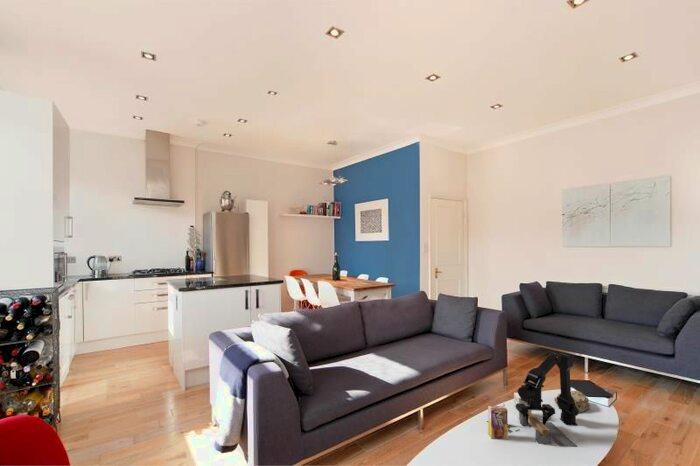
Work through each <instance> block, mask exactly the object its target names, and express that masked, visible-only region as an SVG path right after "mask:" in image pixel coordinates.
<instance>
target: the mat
mask: <svg viewBox="0 0 700 466" xmlns="http://www.w3.org/2000/svg"><path fill="white" fill-rule="evenodd" d="M541 422H542V423H543V421H541ZM545 426H546V427H547V428H548V429H549V431H550V432H551V433H552V441H554V442H555V443H556V444H557V445H558V446H559V447H567V448H568V447H571V448H572V447H575V448H577V447H578V445H577V444H576V443H575V442H573V440H572V439H570V438H569V437H568V436H567V435H566V434H565V433H564V432H563V431H562V430H560V428H558V427H557V425H555V424H554V423H553V422H551V421H547V422H546V424H545Z"/></svg>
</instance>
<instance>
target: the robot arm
mask: <svg viewBox="0 0 700 466" xmlns="http://www.w3.org/2000/svg"><path fill="white" fill-rule="evenodd" d="M554 366H557V367H558V369H559V382H560V383H559V385H560V393H561V394H560V393H559V394H560V395H559V397H557V396H556V397H557V403H558V404H557V406H558V409H559V410H561V412H560V418H559V421H561V422H562V423H563V424H564V425H567V426H578V422H576V421H577V420H576V419H577V418H576V417H577V416H578V415H579V413H580V412H579V410H578V408H577V407H576V406H575V401H574V399H573V397H572V396H571V391H572V388H571V386H572V385H571V370H572V368H573V367H574V358H573V357H572V356H571V355H568V354H565V353H561V352H558V353H555V352H549V354H548V356H547V357H546V358H545V359H544V360H543V361H542V362H541V363H540V365H538V366H537V367H534V368H531V370H529V371H528V372H527V373H526V376H525V378H524V380H523V384H522V385H521V386H520V387H519V388H518V389H517V393H518V394H519V396H520V397H521V401H524V403H525V402H526V403H527V404H528V405H529V406H525V405H524V404H519V403H517V404H516V409H517V410H518V411H519V412H520V413H522V415H523V417H524V420H525V423H526V424H527V425H528V417H529V414H528V410H532V411H536V412H537V411H539V412H540V411H541V412H542V422H543V424H544V425H545V424H546V422H549V419H550V418H551V417H552V416H554V415H556V409H555V407H553V406H552V405H551V404H549V403H543V401H544V400H543V399H542V388H545V385H543V384H544V383H545V381H546V379H547V378H546V376H547V375H548V373H549V372H550V371H551V370H552V368H554Z"/></svg>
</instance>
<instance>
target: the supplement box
mask: <svg viewBox="0 0 700 466" xmlns="http://www.w3.org/2000/svg"><path fill="white" fill-rule="evenodd" d="M517 403H519V404H524V405H525V406H529V405H528V404H527V403H526V402H525V403H524V401H521V397H520V396H519V394H518V392H513V414H514V415H515V416H516V418H517V419H518V420H520V414H522V413H520V412H519V411H518V410H517V409H516V404H517ZM529 411H530V412H531V413H532V412H533V410H529ZM532 414H533V413H532Z"/></svg>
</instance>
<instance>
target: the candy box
mask: <svg viewBox="0 0 700 466" xmlns="http://www.w3.org/2000/svg"><path fill="white" fill-rule="evenodd" d="M487 414H488V415H487V421H488V422H487V427H488V428H487V430H488V431H487V435H488V436H489V437H490V439H493V440H494V439H495V440H496V439H497V440H500V439H501V440H502V439H503V440H504V439H505V440H508V437H509V436H508V435H509V433H508V425H509V423H508V408H506V406H504V405H488V406H487Z"/></svg>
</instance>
